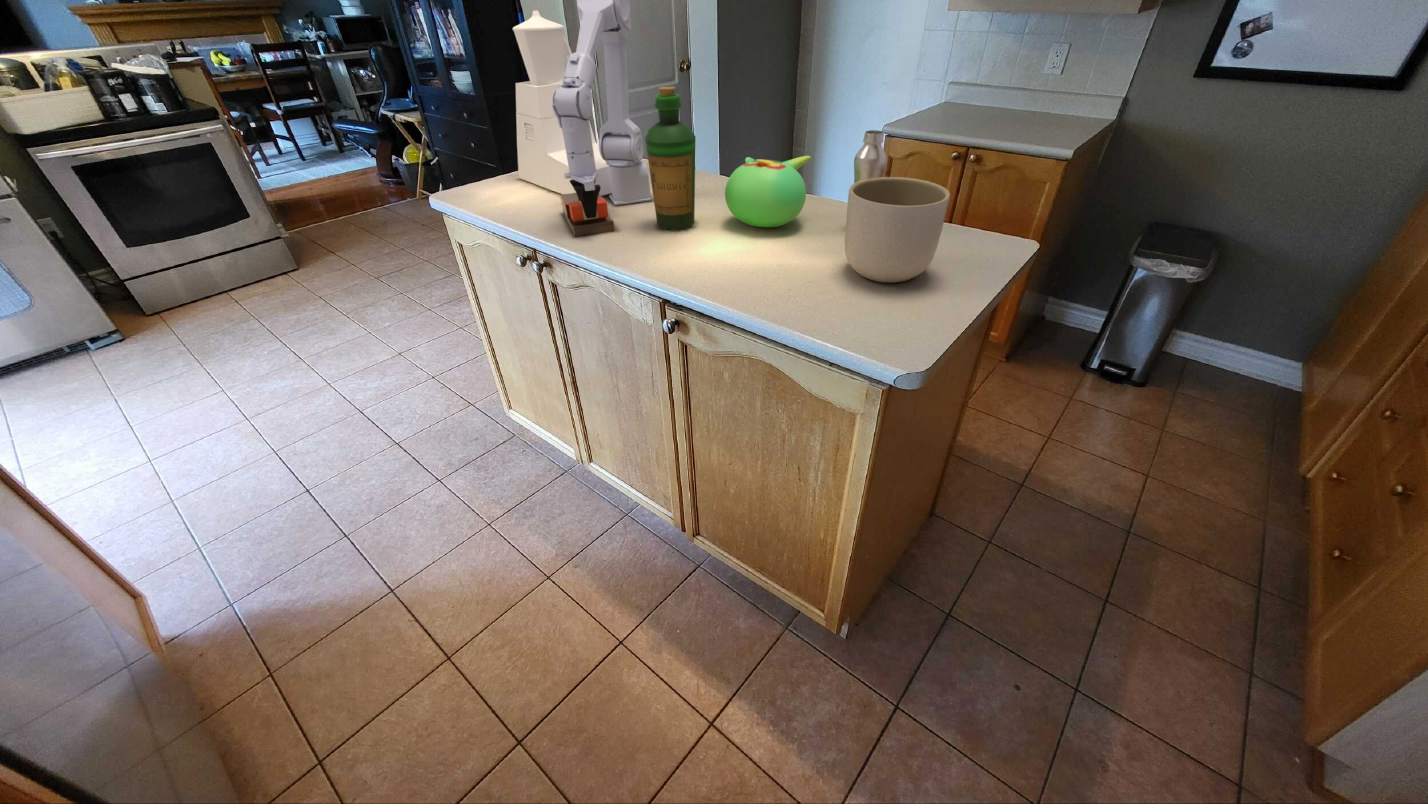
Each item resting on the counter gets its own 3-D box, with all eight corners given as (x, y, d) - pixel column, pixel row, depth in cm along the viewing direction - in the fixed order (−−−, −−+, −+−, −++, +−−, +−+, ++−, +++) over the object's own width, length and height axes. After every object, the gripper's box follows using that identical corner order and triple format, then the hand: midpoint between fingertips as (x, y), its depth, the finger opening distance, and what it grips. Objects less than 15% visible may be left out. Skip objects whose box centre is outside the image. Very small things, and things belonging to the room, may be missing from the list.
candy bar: (605, 212, 132) (603, 197, 130) (608, 216, 129) (606, 202, 127) (570, 216, 130) (568, 202, 128) (573, 221, 127) (570, 207, 125)
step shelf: (599, 208, 142) (597, 190, 139) (614, 230, 129) (612, 211, 126) (563, 213, 140) (560, 194, 137) (575, 236, 127) (571, 216, 124)
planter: (874, 247, 118) (886, 171, 109) (949, 272, 108) (969, 190, 98) (821, 271, 109) (829, 191, 100) (897, 301, 99) (914, 213, 90)
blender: (640, 187, 155) (622, 10, 131) (583, 204, 145) (552, 15, 121) (573, 166, 174) (547, 7, 150) (519, 179, 164) (481, 12, 140)
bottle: (643, 228, 130) (630, 90, 113) (668, 214, 137) (658, 82, 120) (684, 236, 126) (676, 93, 109) (707, 220, 133) (702, 85, 116)
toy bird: (714, 231, 128) (712, 162, 119) (743, 208, 140) (743, 144, 131) (790, 242, 121) (794, 170, 112) (813, 217, 133) (819, 150, 125)
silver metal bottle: (877, 235, 123) (892, 136, 111) (845, 234, 124) (857, 135, 112) (876, 225, 128) (891, 129, 116) (846, 223, 129) (857, 128, 117)
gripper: (555, 145, 125) (566, 207, 133) (565, 161, 114) (577, 227, 123) (587, 142, 127) (596, 203, 135) (600, 157, 116) (609, 222, 124)
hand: (589, 214), depth 129 cm, fingers closed on candy bar, 3 cm apart
